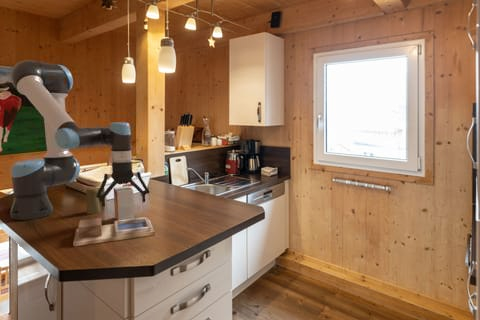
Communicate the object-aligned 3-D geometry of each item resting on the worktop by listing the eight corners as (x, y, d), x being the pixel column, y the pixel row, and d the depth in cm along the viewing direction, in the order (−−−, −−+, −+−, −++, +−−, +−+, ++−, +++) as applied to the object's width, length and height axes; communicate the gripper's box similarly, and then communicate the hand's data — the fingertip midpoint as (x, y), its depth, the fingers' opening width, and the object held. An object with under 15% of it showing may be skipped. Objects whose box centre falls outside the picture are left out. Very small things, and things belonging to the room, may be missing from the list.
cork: (97, 209, 142) (95, 185, 140) (103, 211, 138) (102, 187, 136) (83, 212, 137) (82, 187, 135) (90, 215, 133) (88, 190, 132)
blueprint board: (73, 246, 102) (72, 231, 101) (76, 231, 115) (75, 218, 114) (154, 234, 112) (154, 221, 111) (149, 222, 125) (149, 210, 124)
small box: (114, 217, 130) (113, 187, 128) (130, 215, 134) (129, 185, 132) (118, 223, 123) (116, 191, 122) (134, 220, 127) (133, 189, 125)
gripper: (86, 164, 117) (90, 218, 120) (155, 160, 126) (156, 211, 130) (87, 161, 123) (91, 213, 127) (152, 158, 133) (154, 206, 136)
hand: (124, 212), depth 128 cm, fingers open, 13 cm apart
